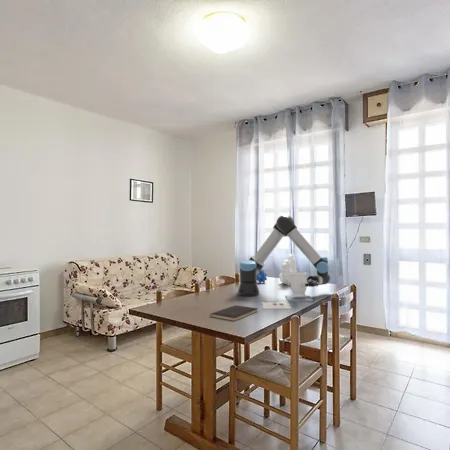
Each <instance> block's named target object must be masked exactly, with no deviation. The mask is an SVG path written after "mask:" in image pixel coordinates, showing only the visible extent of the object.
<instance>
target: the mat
mask: <svg viewBox="0 0 450 450" xmlns="http://www.w3.org/2000/svg"><path fill="white" fill-rule="evenodd" d="M284 296H285V299H286V301H287V302H288V303H314V302H315V301H314V299H313V297H311V296H310V295H307V294H305V296H303V297H296V296H293V295H292V294H290V295H288V294H287V295H286V294H285V295H284Z"/></svg>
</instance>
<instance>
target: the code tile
mask: <svg viewBox="0 0 450 450" xmlns="http://www.w3.org/2000/svg"><path fill="white" fill-rule="evenodd" d="M261 303H262V309H263V310H291V309H292V308H291V306H290V304H289V302H288V301H287V302H285V301H283V302H282V301H281V302H278V301H277V302H272V301H271V302H269V301H268V302H264V301H262V302H261Z"/></svg>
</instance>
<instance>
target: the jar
mask: <svg viewBox="0 0 450 450" xmlns="http://www.w3.org/2000/svg"><path fill="white" fill-rule="evenodd" d="M290 274H291V280H290V283H291V285H290V289H291V291H292V294H291V295H293V296H296V297H303V296H305V295H306V290H307V287H304V288H301V283H306V282H307V278H308V277H307V272H305V271H297V272H291V273H290Z"/></svg>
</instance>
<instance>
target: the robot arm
mask: <svg viewBox="0 0 450 450" xmlns="http://www.w3.org/2000/svg"><path fill="white" fill-rule="evenodd" d="M276 219H277V220H276V223H274V225H273V227H272V228H273V229H272V232H270V234H269V235H268V237H267V239H266V240H265V241H264V242H263V244H262V245H261V247H259V249H258V250H257V252H256V253H255V254H254V255H251V256H250V257H249V259H248V260H242V261H241V262H240V263H239V282H240V283H239V286H238V290H237V295H238V296H240V297H241V296H242V297H257V296H259V295H260V290H259V287H258V284H257V282H258V281H257V280H256V275H258V274H259V273H260V271H261V270H263V268H264V266H265V261H266V260H267V259H268V257H269V256H270V255H271V254H272V253H273V251H274V250H275V248H276V247H277V246H278V244H279V243H280V242H281V240H282V239H283V238H284V237H288V238H289V239H290V240H291V241H292V243H293V244H294V245H295V246H296V247H297V248H298V250H299V251H300V252H301V253H302V254H303V255H304V256H305V257H306V259H307V260H308V262H310V263H311V264H312V265H313V267H314V268H315V269H316V274H311V275H309V276H308V277H306V278H307V282H306V283H301V288H304V287H306V288H308V287H311V288H314V287H319V286H322V285H327V284H329V283H330V282H331V280H332V278H331V277H332V276H331V275H330V274H329V273H328V272H329V263H328V262H329V260H328V257H327V256H320V254H319V253H318V252H317V251H316V250H315V248H314V247H313V246H312V245H311V244H310V243H309V241H308V240H307V239H306V238H305V237H304V236H303V234H301V232H300V231H299V230H298V227H297V225H296V224H295V221H294V218H293V217H292V216H291V215H288V214H282V215H280V216H279V217H278V218H276ZM287 286H288V287H289V286H290V287H291V283H290V281H288V285H287Z"/></svg>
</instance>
